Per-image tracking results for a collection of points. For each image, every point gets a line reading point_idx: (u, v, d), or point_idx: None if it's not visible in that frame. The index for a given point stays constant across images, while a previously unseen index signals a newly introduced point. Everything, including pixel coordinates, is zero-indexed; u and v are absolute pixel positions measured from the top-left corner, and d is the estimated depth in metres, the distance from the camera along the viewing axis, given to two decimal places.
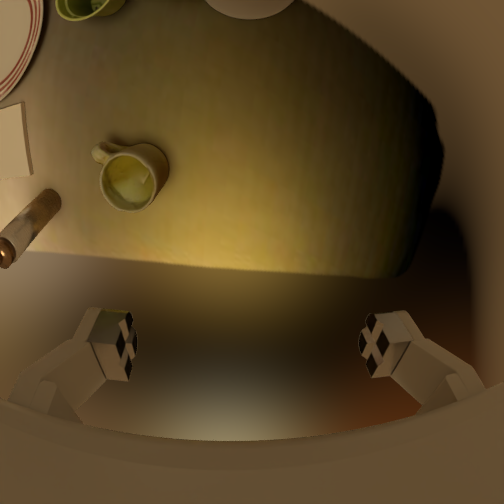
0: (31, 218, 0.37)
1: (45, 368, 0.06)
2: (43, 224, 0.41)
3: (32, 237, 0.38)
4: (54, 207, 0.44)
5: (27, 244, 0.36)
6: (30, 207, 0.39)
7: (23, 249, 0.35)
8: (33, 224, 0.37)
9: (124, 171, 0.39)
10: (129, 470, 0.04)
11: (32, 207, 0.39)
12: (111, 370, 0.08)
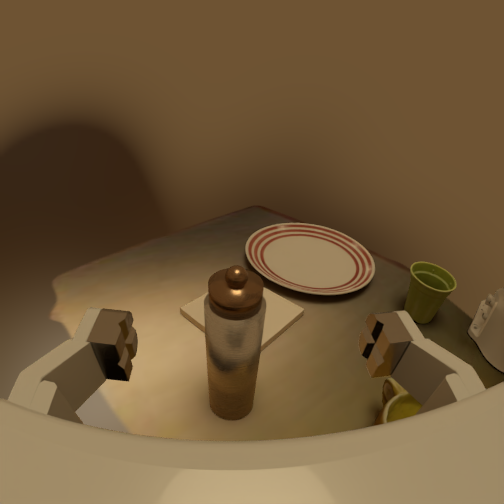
0: None
1: (45, 368, 0.06)
2: (245, 385, 0.27)
3: (245, 361, 0.25)
4: (248, 404, 0.30)
5: (243, 349, 0.24)
6: None
7: (244, 338, 0.23)
8: (258, 358, 0.27)
9: None
10: (129, 470, 0.04)
11: None
12: (111, 370, 0.08)
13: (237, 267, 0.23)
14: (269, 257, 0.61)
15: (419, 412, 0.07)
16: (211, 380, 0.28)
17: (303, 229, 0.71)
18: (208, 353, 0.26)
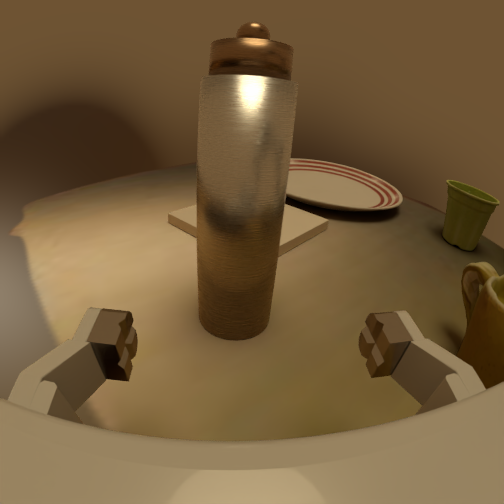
0: None
1: (45, 368, 0.06)
2: (262, 243, 0.16)
3: (264, 174, 0.14)
4: (264, 303, 0.19)
5: (263, 140, 0.13)
6: None
7: (265, 113, 0.13)
8: (285, 189, 0.16)
9: None
10: (129, 470, 0.04)
11: None
12: (111, 370, 0.08)
13: None
14: None
15: (419, 412, 0.07)
16: (202, 241, 0.17)
17: (315, 165, 0.61)
18: (200, 172, 0.15)
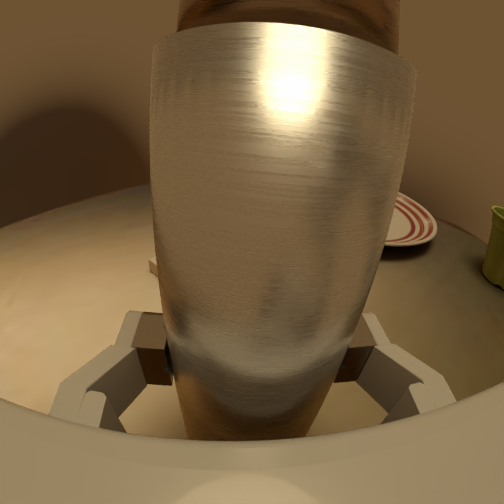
0: None
1: (89, 377, 0.06)
2: (300, 422, 0.07)
3: (329, 331, 0.05)
4: None
5: (342, 254, 0.04)
6: None
7: (359, 168, 0.04)
8: None
9: None
10: (129, 470, 0.04)
11: None
12: (154, 375, 0.08)
13: None
14: None
15: (383, 421, 0.07)
16: (185, 406, 0.08)
17: None
18: (164, 302, 0.06)
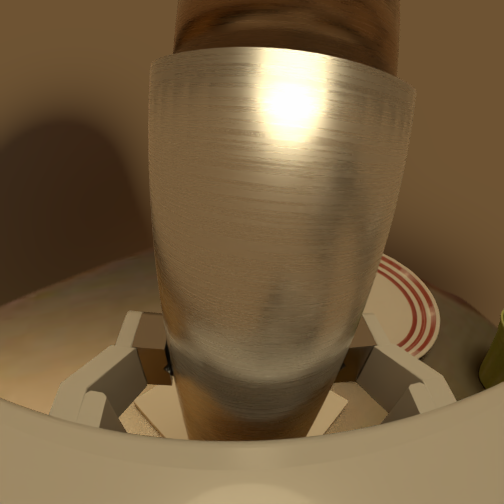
0: None
1: (89, 377, 0.06)
2: (298, 428, 0.07)
3: (325, 345, 0.05)
4: None
5: (337, 275, 0.05)
6: None
7: (355, 193, 0.04)
8: None
9: None
10: (129, 470, 0.04)
11: None
12: (154, 375, 0.08)
13: None
14: None
15: (384, 421, 0.07)
16: (186, 413, 0.08)
17: None
18: (165, 316, 0.06)
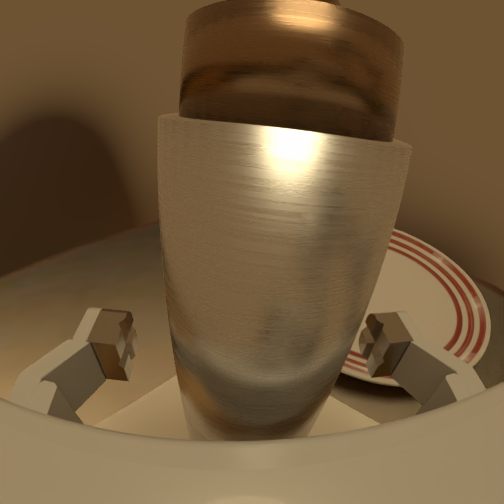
0: None
1: (45, 368, 0.06)
2: None
3: (318, 374, 0.06)
4: None
5: (329, 321, 0.05)
6: None
7: (347, 256, 0.04)
8: None
9: None
10: (129, 470, 0.04)
11: None
12: (111, 370, 0.08)
13: None
14: None
15: (419, 412, 0.07)
16: (192, 425, 0.09)
17: None
18: (175, 344, 0.07)
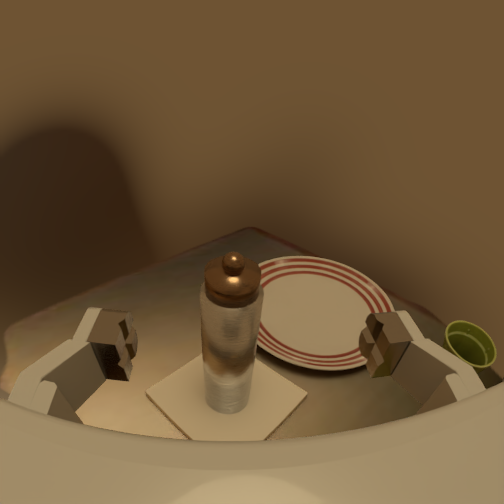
0: None
1: (45, 368, 0.06)
2: (241, 377, 0.26)
3: (241, 352, 0.24)
4: (244, 397, 0.29)
5: (240, 339, 0.23)
6: None
7: (241, 327, 0.23)
8: (255, 349, 0.26)
9: None
10: (129, 470, 0.04)
11: None
12: (111, 370, 0.08)
13: (234, 253, 0.22)
14: (264, 308, 0.47)
15: (419, 412, 0.07)
16: (206, 372, 0.27)
17: (307, 264, 0.57)
18: (203, 343, 0.25)
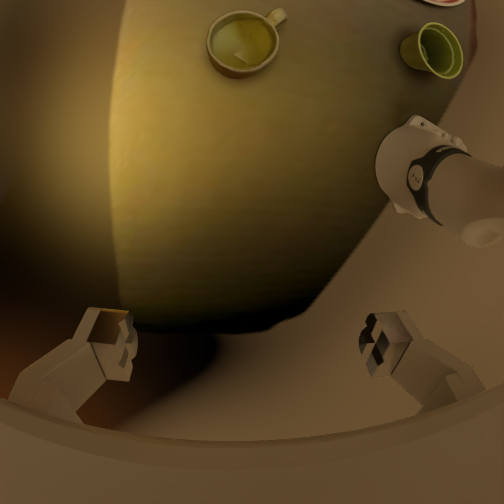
0: None
1: (45, 368, 0.06)
2: None
3: None
4: None
5: None
6: None
7: None
8: None
9: (250, 36, 0.31)
10: (129, 470, 0.04)
11: None
12: (111, 370, 0.08)
13: None
14: None
15: (419, 412, 0.07)
16: None
17: None
18: None
